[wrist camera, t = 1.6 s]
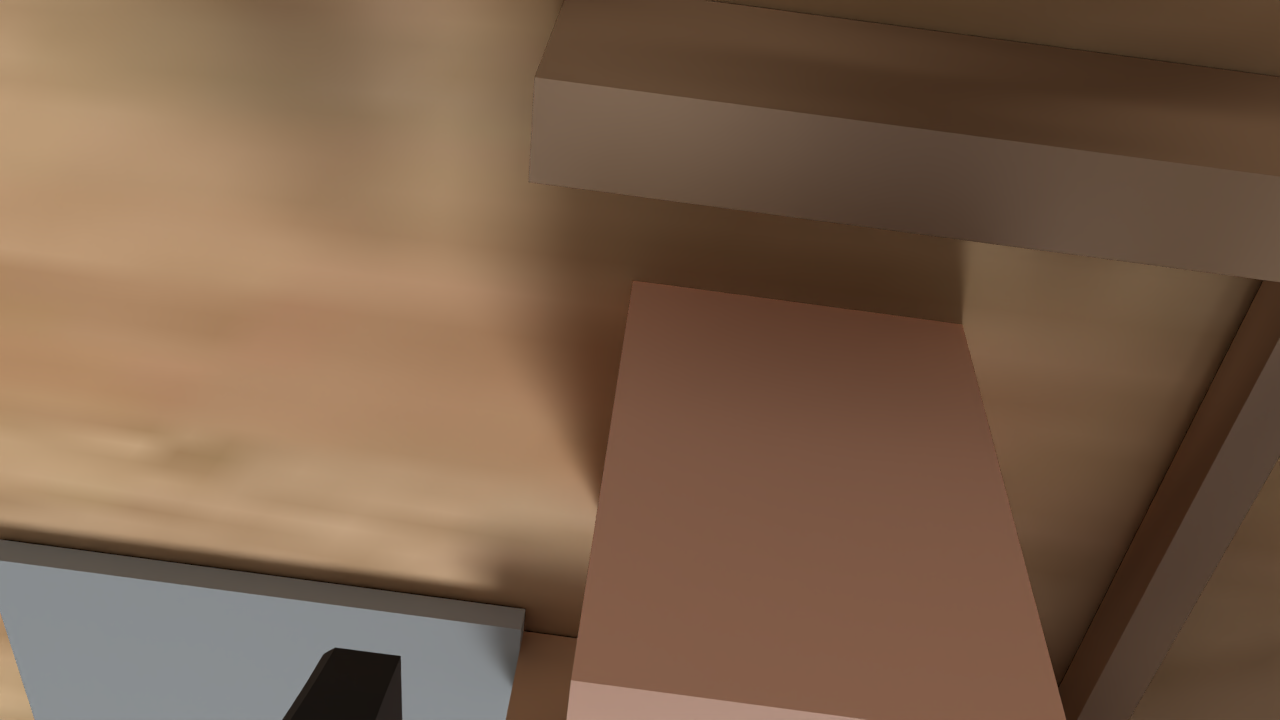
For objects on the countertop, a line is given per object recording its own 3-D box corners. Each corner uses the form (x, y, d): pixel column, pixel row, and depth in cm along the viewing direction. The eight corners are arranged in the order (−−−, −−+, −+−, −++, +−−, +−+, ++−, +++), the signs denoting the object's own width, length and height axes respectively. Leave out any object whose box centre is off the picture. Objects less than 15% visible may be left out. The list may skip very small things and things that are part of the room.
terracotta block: (961, 323, 14) (1074, 746, 9) (885, 556, 16) (941, 991, 12) (633, 279, 14) (570, 681, 9) (603, 519, 16) (542, 938, 12)
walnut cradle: (1427, 96, 12) (1565, 214, 10) (1075, 747, 18) (1116, 898, 16) (570, -18, 12) (534, 76, 10) (520, 673, 18) (492, 816, 16)
